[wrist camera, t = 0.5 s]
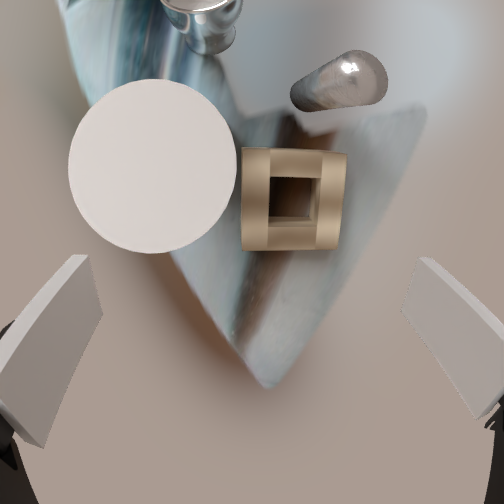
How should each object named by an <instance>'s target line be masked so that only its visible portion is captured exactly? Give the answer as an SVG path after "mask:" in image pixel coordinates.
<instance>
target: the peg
mask: <svg viewBox="0 0 504 504" xmlns="http://www.w3.org/2000/svg"><path fill="white" fill-rule="evenodd" d="M387 88H388V77H387V74H386V71H385V69H384V67H383V65H382V64H381V62H380V61H379V60H378V59H377V58H375V57H374V56H373V55H371V54H370V53H367V52H365V51H360V50H352V51H348V52H346V53H344V54H342V55H341V56H339V57H337V58H335V59H334V60H332V61H330V62H328V63H327V64H325V65H323V66H322V67H320V68H318V69H317V70H315V71H313V72H312V73H310V74H308V75H307V76H305V77H304V78H302V79H300V80H299V81H297V82H296V83H295V84H294V85H293V86H292V88H291V91H290V98H291V101H292V103H293V104H294V106H295V107H296V108H298V109H299V110H301V111H304V112H315V111H321V110H328V109H336V108H344V107H353V106H363V105H372V104H375V103H377V102H379V101H380V100H381V99H382V98H383V97H384V96H385V94H386V91H387Z"/></svg>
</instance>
